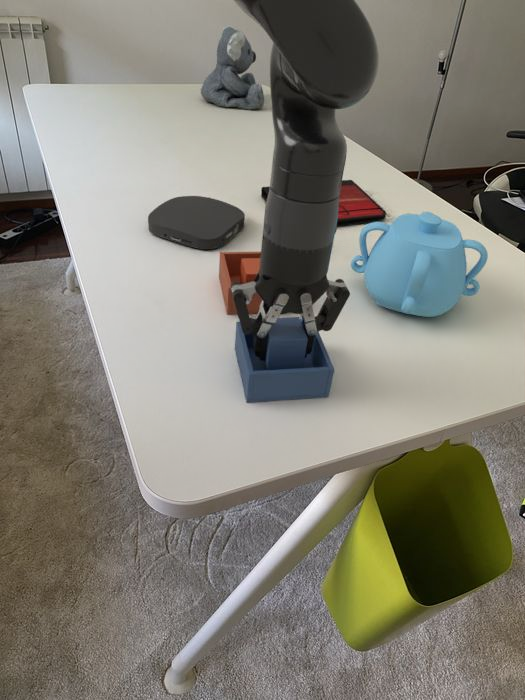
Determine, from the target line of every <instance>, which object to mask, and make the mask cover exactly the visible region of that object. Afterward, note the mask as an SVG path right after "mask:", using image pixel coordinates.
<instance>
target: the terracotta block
mask: <svg viewBox="0 0 525 700" xmlns="http://www.w3.org/2000/svg"><path fill="white" fill-rule="evenodd" d="M259 268H260V258H243V259H241V271H240V283H241V284H245V283H249V282H253V281H254V278H255V277H256V275H257V274H258V272H259Z"/></svg>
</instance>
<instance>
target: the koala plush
mask: <svg viewBox="0 0 525 700" xmlns="http://www.w3.org/2000/svg"><path fill="white" fill-rule="evenodd" d="M256 59H257V54H256V52H255V51H254V50H253V49H252V46H251V44H250V41H249V40H248V38H247V37H246V35H245V34H244V33H243V32H242V31H241V30H239V29H236V28H235V27H234V26H230V25H227V26H225V27H223V28H222V32H221V35H220V39H219V41H218V44H217V48H216V64H215V65H216V66H215V68H214V70H212V71H211V72H210V73H209V74H208V76H207V77H205V79H204V81H203V83H202V85H201V88H200V94H201V97H202V98H203V100H204V101H205V102H207V103H210V104H212V103H213V104H214V105H216V106H217V107H223V108H237V109H243V110H251V111H252V110H260V108H263V107H264V105H265V95H264V89H263V87H262V84H260V83H256V79H255V77H254V74H253V73H252V72H246V71H248V70H249V68H250V67H251V65H252V64H254V63H255V62H256ZM239 75H241V76H239Z"/></svg>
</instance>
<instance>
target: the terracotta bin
mask: <svg viewBox="0 0 525 700" xmlns="http://www.w3.org/2000/svg"><path fill="white" fill-rule="evenodd" d="M260 257H261V251H219V259H218V260H219V263H218V279H219V284H220V289H221V293H222V298H223V302H224V307H225V312H226V315H228V316H229V315H230V316H231V315H238V313H237V309H236V306H235V302H234V299H233V295H232V291H231V284H232V283H233V282H235V281H238V282H240V271H241V259H243V258H260ZM261 302H262V299H261V297H260V296H259V295H258V294H257V292H256V293H254V294H253V295H252V300H251V302H250V303H249V304H246V305H247V309H248V313H249V315H254V314H256V315H257V314H258V312H259V310H260V304H261Z"/></svg>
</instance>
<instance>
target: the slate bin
mask: <svg viewBox="0 0 525 700" xmlns="http://www.w3.org/2000/svg"><path fill="white" fill-rule="evenodd" d="M300 321H301V323H302V326H303V321H302V318H300ZM235 323H236V324H235V339H234V351H235V355H236V356H235V358H236V361H237V365H238V371H239V375H240V380H241V383H242V388H243V394H244V397H245V401H246V403H261V402H275V401H291V400H292V401H293V400H306V399H307V400H308V399H320V398H323V399H324V398H329V397H330V393H331V388H332V384H333V378H334V374H335V370H336V369H335V367H334V365H333V362H332V360H331V358H330V356H329V353H328V351H327V349H326V347H325V346H326V345H325V344H324V341H323V339H322V337H321V334H320V331H318V332H317V333H316V334H315V337H314V343H313V348H312V352H311V353H310V354H307V358H304V364H303V368H294V369H275V370H267V368H266V364H265V361H260V359H259V357H256V355H255V352H254V348H253V341H254V334H252V333H251V334H248V335H246V334H244V333H243V331H242V327H241V324H240V321H236V322H235Z"/></svg>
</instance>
